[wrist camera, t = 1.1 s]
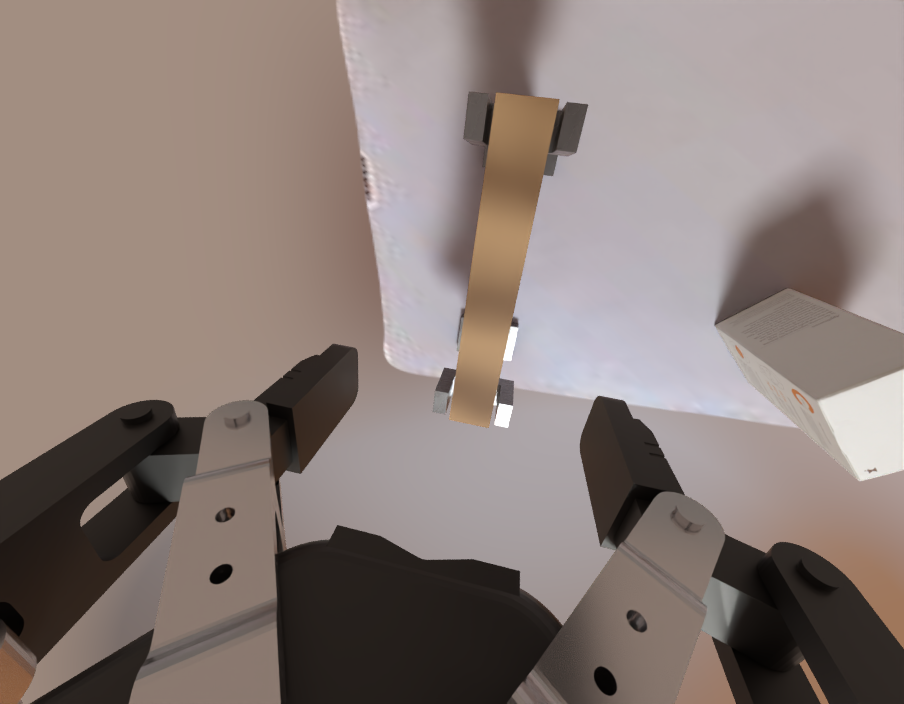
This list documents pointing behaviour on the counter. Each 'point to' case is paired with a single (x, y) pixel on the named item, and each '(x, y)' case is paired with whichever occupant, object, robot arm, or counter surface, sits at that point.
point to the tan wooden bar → (500, 247)
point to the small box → (826, 376)
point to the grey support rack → (560, 144)
